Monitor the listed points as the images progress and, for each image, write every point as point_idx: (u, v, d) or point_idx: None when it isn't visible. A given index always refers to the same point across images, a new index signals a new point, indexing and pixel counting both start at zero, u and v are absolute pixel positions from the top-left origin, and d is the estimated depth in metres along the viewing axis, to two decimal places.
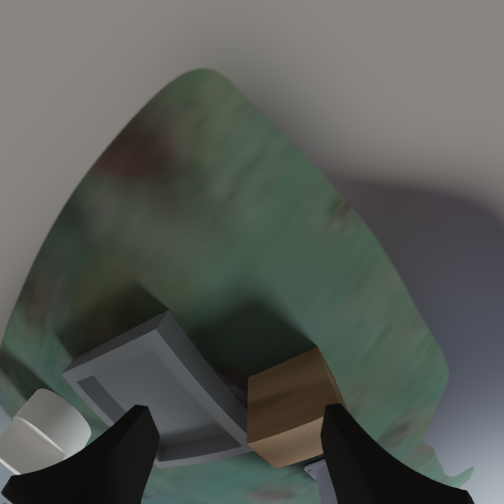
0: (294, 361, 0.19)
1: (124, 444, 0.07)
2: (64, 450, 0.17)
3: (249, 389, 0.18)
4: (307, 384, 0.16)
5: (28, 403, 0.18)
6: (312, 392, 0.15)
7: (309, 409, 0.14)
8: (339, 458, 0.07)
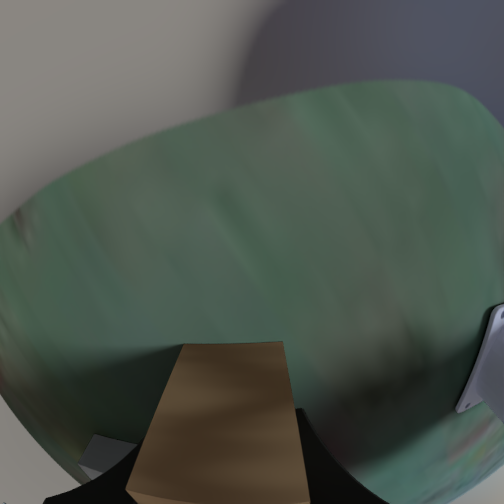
0: None
1: None
2: None
3: None
4: None
5: None
6: None
7: None
8: None
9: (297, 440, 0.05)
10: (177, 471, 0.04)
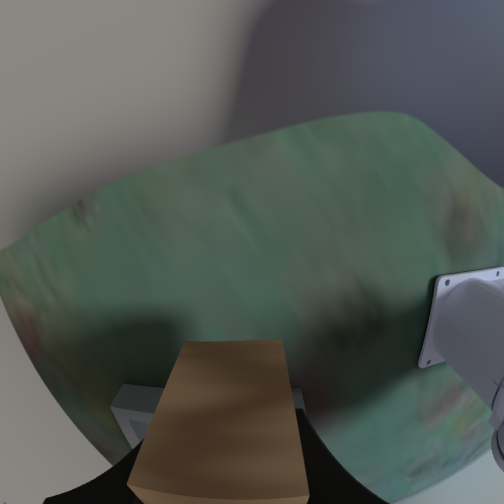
0: None
1: None
2: None
3: None
4: None
5: None
6: None
7: None
8: None
9: (296, 435, 0.06)
10: (178, 466, 0.05)
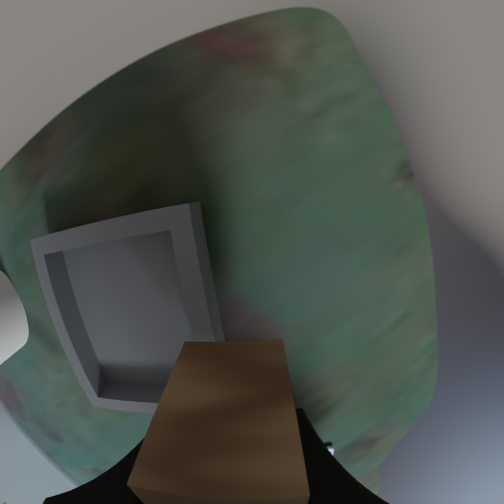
0: None
1: None
2: None
3: None
4: None
5: None
6: None
7: None
8: None
9: (296, 435, 0.06)
10: (178, 466, 0.05)
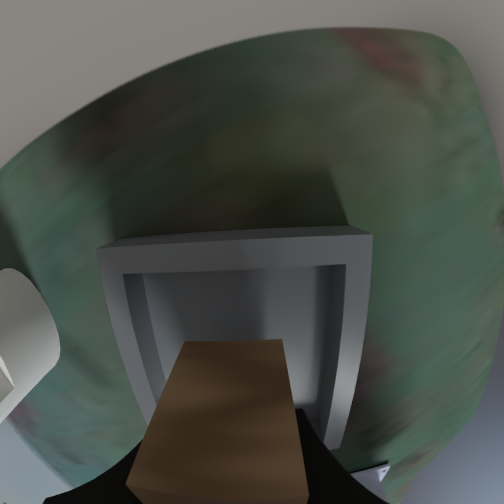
0: None
1: None
2: (14, 381, 0.10)
3: None
4: None
5: None
6: None
7: None
8: None
9: (296, 435, 0.06)
10: (177, 466, 0.05)
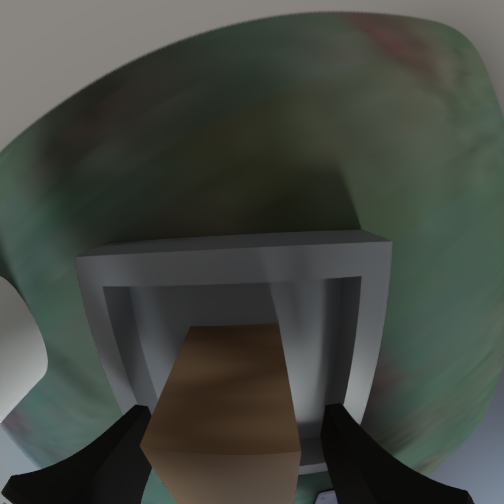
0: None
1: (124, 444, 0.07)
2: None
3: None
4: None
5: None
6: None
7: None
8: (339, 458, 0.07)
9: (289, 401, 0.07)
10: (186, 428, 0.06)
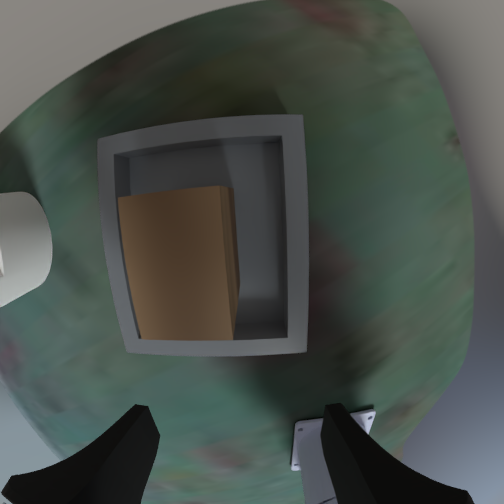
0: None
1: (124, 444, 0.07)
2: (5, 269, 0.12)
3: None
4: None
5: None
6: None
7: None
8: (339, 458, 0.07)
9: (223, 186, 0.11)
10: None
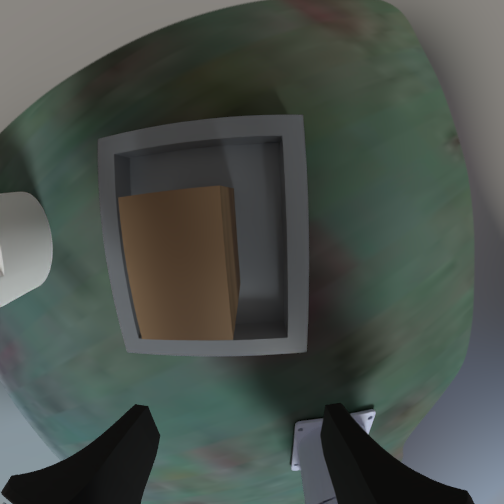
0: None
1: (124, 444, 0.07)
2: (5, 268, 0.12)
3: None
4: None
5: None
6: None
7: None
8: (339, 458, 0.07)
9: (223, 186, 0.11)
10: None
